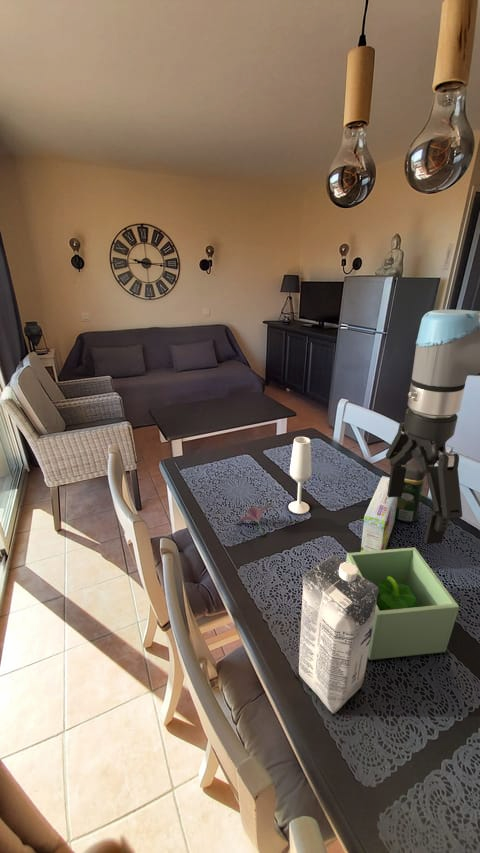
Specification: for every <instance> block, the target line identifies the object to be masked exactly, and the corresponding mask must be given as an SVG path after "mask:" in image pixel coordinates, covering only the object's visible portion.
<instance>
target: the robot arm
mask: <svg viewBox="0 0 480 853" xmlns="http://www.w3.org/2000/svg"><path fill="white" fill-rule="evenodd" d="M418 329H419V330H418V334H417V339H416V341H415V352H414V359H413V367H412V374H411V379H410V387H409V392H408V393H407V397H408V399H407V406H408V408H406V410H405V416H404V422H399V424H398V429H397V432H396V434H395V436H394V438H393V440H392V442H391V444H390V446H389V447H388V449H387V452H386V453H385V458H386V459H387V460H389V465H390V472H389V478H390V479H389V486H388V493H387V496H388V497H400V496H402V492H403V486H404V480H405V474H406V468H405V467H401V466H402V465H407V462H408V461H410V460H411V459H412V458H414V459H416V460H417V461H418V462H419V463H420V464H421V467H422V471H423V472H424V473H425V477H426V479H427V484H428V487H429V492H430V496H431V502H432V506H433V509H430V511H429V514H428V521H427V525H426V530H425V534H424V539H423V542H424V543H425V545H433V544H434V545H435V544H442V543H443V541H444V536H445V532H446V531H447V530H448V526H449V522H450V519H459V518H462V517H463V508H462V507H463V506H462V497H461V488H460V478H459V477H460V476H459V463H460V456H459V454H458V453H450V452H448V451H447V448H446V444H447V442H448V441H449V440H450V439H451V438H453V436H454V435H455V432H456V427H457V422H458V415H457V414H458V413H459V412H461V407H462V401H463V396H464V391H465V387H466V383H467V382H466V381H467V378H468V377H469V376H471V377H480V310H467V309H434V310H431V311H428V312H426V313H425V314H424V315H423V316H422V318H421V321H420V324H419V328H418ZM434 465H435V466H434Z"/></svg>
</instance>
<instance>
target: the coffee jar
mask: <svg viewBox="0 0 480 853" xmlns="http://www.w3.org/2000/svg"><path fill="white" fill-rule="evenodd" d="M401 467H405V468H406V474H405V480H404V486H403V492H402V496H400V497H398V499H397V506H396V514H395V520H398V521H401V522H405V523H406V522H407V523H411V522H415V521H416V519H417V517H418V513H419V509H420V503H421V499H422V498H421V497H422V493H423V487H424V482H425V477H426V473H424V472H423V471H422V467H421V464H420V463H419V462H418V461H417V460H416V459H414V458H412V459H411V460H410V461H408V462H407V465H402V466H401Z"/></svg>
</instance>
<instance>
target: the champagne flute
mask: <svg viewBox="0 0 480 853" xmlns="http://www.w3.org/2000/svg"><path fill="white" fill-rule="evenodd" d="M311 447H312V446H311V439H310V438H309V437H306V436H296V437H295V438H294V439H293V444H292V450H291V451H292V452H291V458H290V465H289V475H290V477H291V478H292V479H293V480H294V481H296V482H297V500H295V501H291V502H290V503H289V504H288V509H289V511H290V512H292V513H294V514H297V515H298V514H299V515H302V514H305V513H307V512H309V511H310V506H309V504H308V503H306V502H304V501H302V489H303V483H304V482H306V481H307V480H309V479H310V478H311V476H312V474H313V471H312V453H311V452H312V451H311V450H312V449H311Z"/></svg>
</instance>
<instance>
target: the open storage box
mask: <svg viewBox="0 0 480 853" xmlns="http://www.w3.org/2000/svg"><path fill="white" fill-rule="evenodd" d="M345 559H346V560H345V562H347V563H352V564H353V565H355V566H356V567H357V569H358V573H357V574H358V575H360V576H362V577H363V578H365V579H367V580H368V581H370V582H372V583H373V584H375V585H377V584H378V583H380V582H383V581H385V580H387V577H388V576H390V577H392V578H393V579H394V580H395V581H396V583H397V584H403V585H406V586H409V587H410V589H411V591H412V592H413V594H414V596H415V598H416V600H417V603H418V606H417V607H414V608H404V609H394V610H383V611H380V610H379V608H378V606H377V604H376V609H375V616H374V622H373V628H372V634H371V640H370V646H369V651H368V657H367V659H368V660H369V661H373V660H382V659H390V658H400V657H411V656H420V655H430V654H437V653H439V654H441V653H446V652H447V649H448V645H449V642H450V639H451V636H452V632H453V629H454V626H455V623H456V619H457V615H458V612H459V609H460V606H459V604H458V603H457V601H456V600H455V599H454V598H453V596H452V595H451V594H450V592H449V591H448V589H447V588H446V587H445V586H444V585H443V583H442V582H441V580H440V578H438V576H437V575H436V574H435V572H434V571H433V569H432V568H431V567H430V565H429V564H428V563H427V561H426V560H425V559H424V557H423V556H422V555H421V553H420V552H419V550H418V549H417V548H416V547H415V546H414V547H404V548H403V547H402V548H390V549H385V550H378V551H366V552H361V551H357V552H347V553H346V558H345Z"/></svg>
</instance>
